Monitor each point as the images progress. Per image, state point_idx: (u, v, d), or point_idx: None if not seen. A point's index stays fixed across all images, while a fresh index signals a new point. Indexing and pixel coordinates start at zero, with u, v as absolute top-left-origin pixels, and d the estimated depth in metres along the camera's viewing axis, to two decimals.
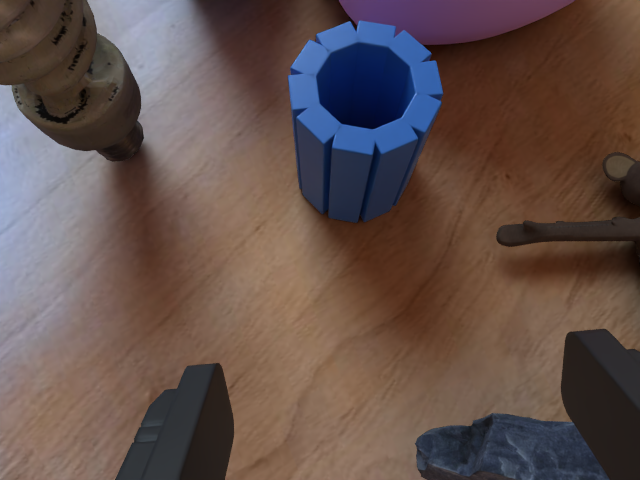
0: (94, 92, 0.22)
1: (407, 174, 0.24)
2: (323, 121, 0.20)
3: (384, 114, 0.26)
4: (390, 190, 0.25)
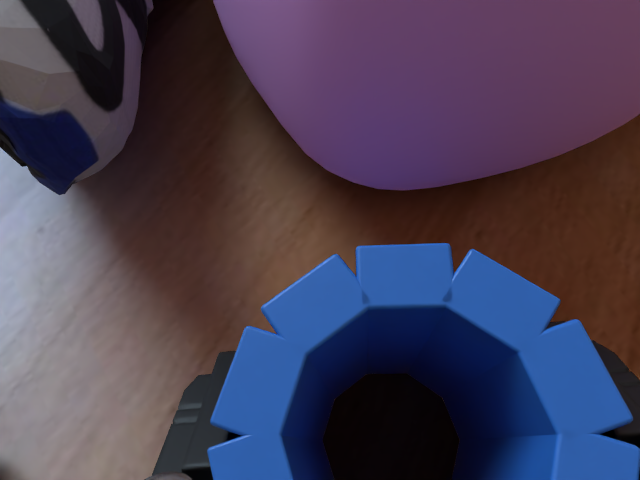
0: None
1: None
2: None
3: (439, 368, 0.13)
4: None
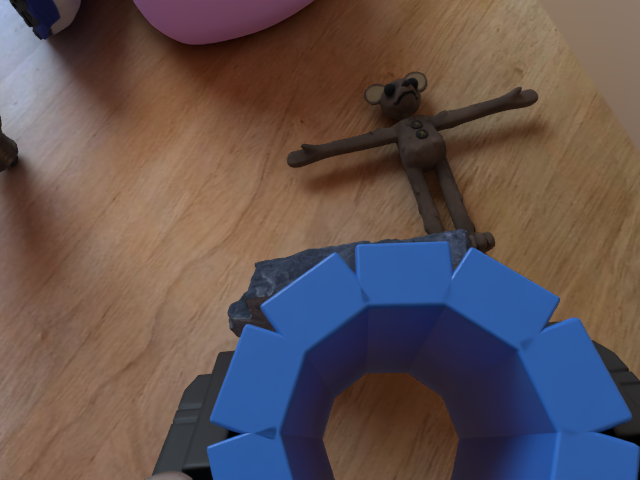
0: None
1: None
2: None
3: (439, 367, 0.13)
4: None
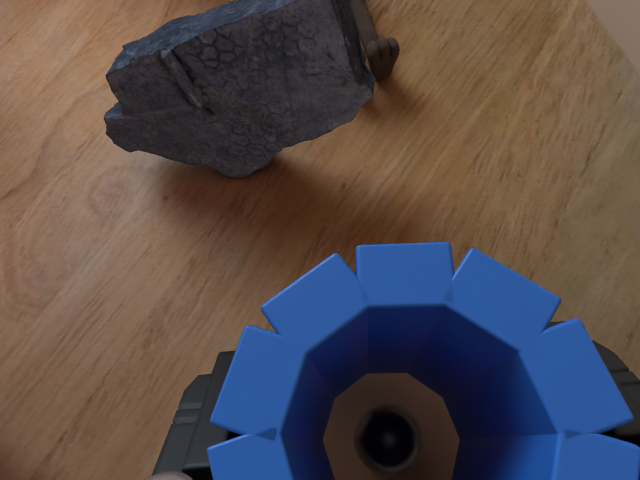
0: None
1: None
2: None
3: (439, 368, 0.13)
4: None
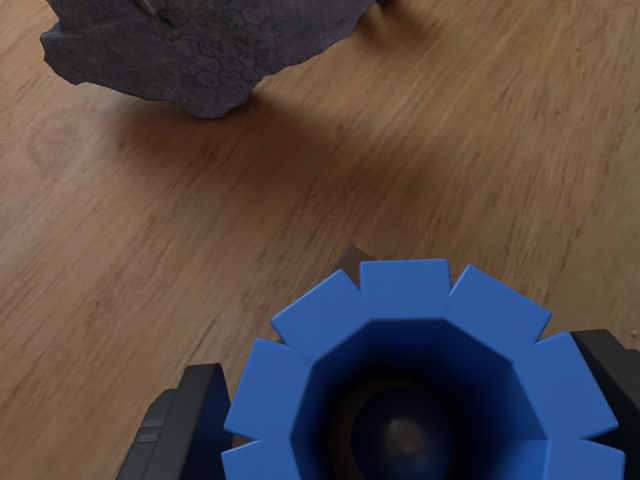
0: None
1: None
2: None
3: (439, 375, 0.13)
4: None
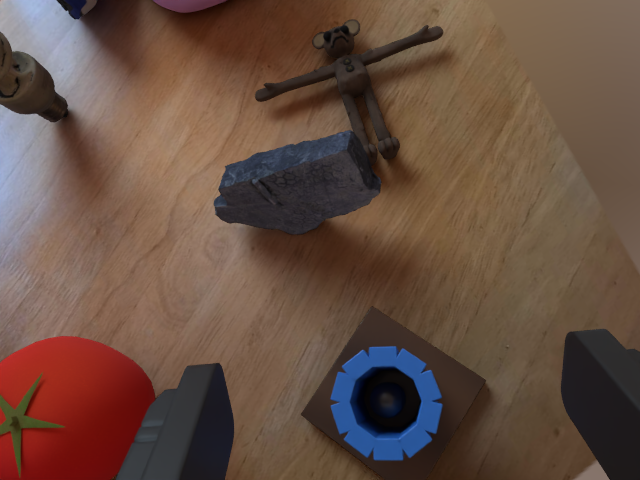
0: (21, 78, 0.45)
1: None
2: (363, 439, 0.29)
3: None
4: None
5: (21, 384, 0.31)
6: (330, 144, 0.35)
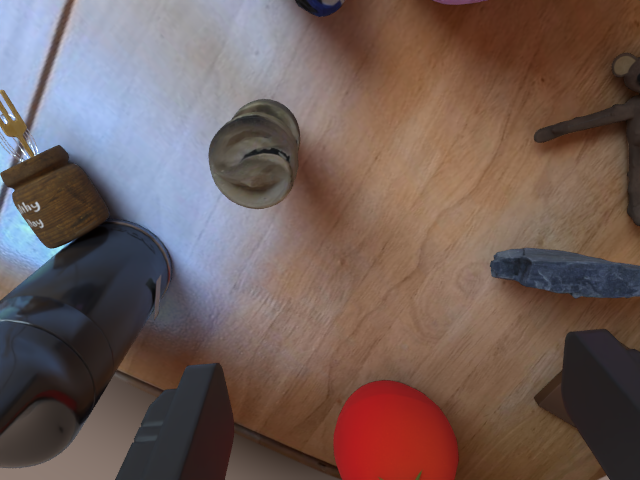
0: None
1: None
2: None
3: None
4: None
5: (404, 475, 0.41)
6: None
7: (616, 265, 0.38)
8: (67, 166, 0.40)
